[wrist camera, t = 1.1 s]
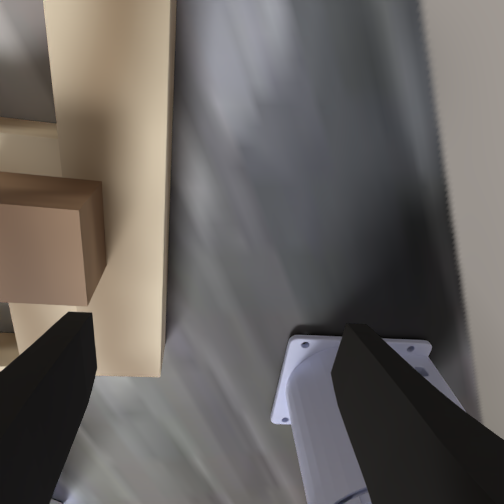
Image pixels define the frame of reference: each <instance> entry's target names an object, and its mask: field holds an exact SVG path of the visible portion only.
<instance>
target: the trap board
mask: <svg viewBox="0 0 504 504" xmlns="http://www.w3.org/2000/svg"><path fill="white" fill-rule="evenodd" d="M176 3H177V0H43V4H44V13H45V23H46V32H47V41H48V50H49V59H50V69H51V78H52V87H53V96H54V106H55V115H56V123H48V122H39V121H30V120H22V119H13V118H5V117H0V171H1V172H11V173H22V174H32V175H42V176H53V177H63V178H73V179H84V180H94V181H102V193H103V211H104V228H105V246H106V263H107V266H106V268H105V270H104V273H103V275H102V277H101V279H100V281H99V283H98V285H97V288H96V290H95V292H94V294H93V296H92V298H91V300H90V303H89V305H88V307H86V306H66V305H46V304H26V303H8V304H9V308H10V313H11V318H12V322H13V327H14V332H15V333H0V371H2V370H3V369H4V368H5V367H6V366H8V365H9V364H10V363H11V362H12V361H13V360H15V359H16V358H17V357H18V356H19V355H20V354H21V353H23V352H24V351H25V350H26V349H27V348H28V347H29V346H31V345H32V344H33V343H34V342H35V341H36V340H37V339H38V338H39V337H41V336H42V335H43V334H44V333H45V332H46V331H47V330H48V329H49V328H50V327H51V326H53V325H54V324H55V323H56V322H57V321H58V320H59V319H60V318H61V317H62V316H64V315H65V314H66V313H67V312H92V315H93V326H94V337H95V347H96V358H97V371H96V375H95V376H131V377H160V375H161V368H162V362H163V355H164V349H165V332H166V302H167V272H168V243H169V213H170V183H171V153H172V123H173V93H174V63H175V33H176Z"/></svg>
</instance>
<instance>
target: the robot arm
mask: <svg viewBox="0 0 504 504" xmlns="http://www.w3.org/2000/svg"><path fill="white" fill-rule="evenodd" d="M303 342H307V343H305V344H302V343H303ZM408 347H409V348H408ZM431 350H432V345H431V344H430V342H429V341H427V340H410V339H387V338H381V337H380V336H379V335H378V334H377V333H375V332H374V331H373V330H372V329H371V328H370V327H369V326H367V325H366V324H350V323H346V326H345V329H344V332H343V336H342V337H340V336H317V335H294V336H292V337H291V338H290V339H289V341H288V345H287V349H286V353H285V358H284V362H283V366H282V370H281V374H280V378H279V383H278V387H277V391H276V395H275V399H274V404H273V408H272V412H271V421H272V423H274V424H291V426H292V430H293V435H294V440H295V445H296V450H297V455H298V460H299V465H300V469H301V474H302V479H303V484H304V489H305V494H306V499H307V503H308V504H504V440H503V439H502V438H500V437H499V436H497V435H496V434H494V433H493V432H492V431H491V430H489V429H488V428H486V427H485V426H484V425H482V424H481V423H480V422H478V421H477V420H476V419H474V418H473V417H471V416H470V415H469V414H468V413H466V411H465V410H464V408H463V407H462V405H461V404H460V402H459V401H458V399H457V398H456V396H455V395H454V394H453V392H452V391H451V389H450V388H449V386H448V385H447V383H446V382H445V380H444V379H443V377H442V376H441V374H440V373H439V372H438V370H437V369H436V367H435V366H434V364H433V363H432V361H431V360H430V358H429V357H428V356H429V354H430V352H431ZM96 371H97V358H96V347H95V337H94V326H93V315H92V312H67V313H66V314H65V315H64V316H62V317H61V318H60V319H59V320H58V321H57V322H56V323H55V324H54V325H53V326H51V327H50V328H49V329H48V330H47V331H46V332H45V333H44V334H43V335H42V336H41V337H39V338H38V339H37V340H36V341H35V342H34V343H33V344H32V345H31V346H29V347H28V348H27V349H26V350H25V351H24V352H23V353H21V354H20V355H19V356H18V357H17V358H16V359H15V360H13V361H12V362H11V363H10V364H9V365H8V366H6V367H5V368H4V369H3V370H2V371H0V504H50V501H51V498H52V495H53V492H54V490H55V487H56V484H57V482H58V479H59V477H60V474H61V472H62V469H63V467H64V464H65V461H66V459H67V456H68V454H69V451H70V449H71V446H72V444H73V441H74V439H75V436H76V434H77V431H78V428H79V426H80V423H81V421H82V418H83V416H84V413H85V410H86V408H87V405H88V402H89V398H90V395H91V391H92V387H93V383H94V379H95V375H96Z"/></svg>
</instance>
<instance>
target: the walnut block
mask: <svg viewBox="0 0 504 504" xmlns="http://www.w3.org/2000/svg"><path fill="white" fill-rule="evenodd" d="M106 266H107V263H106V246H105V228H104V211H103V193H102V181H94V180H84V179H73V178H63V177H53V176H42V175H32V174H22V173H11V172H1V171H0V302H6V303H26V304H46V305H66V306H86V307H88V305H89V303H90V300H91V298H92V296H93V294H94V292H95V290H96V288H97V285H98V283H99V281H100V279H101V277H102V275H103V273H104V270H105V268H106Z"/></svg>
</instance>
